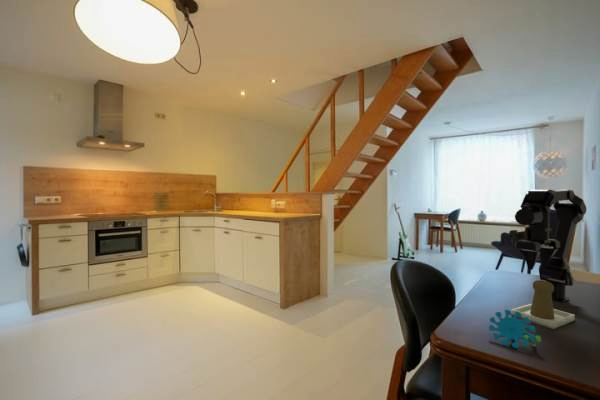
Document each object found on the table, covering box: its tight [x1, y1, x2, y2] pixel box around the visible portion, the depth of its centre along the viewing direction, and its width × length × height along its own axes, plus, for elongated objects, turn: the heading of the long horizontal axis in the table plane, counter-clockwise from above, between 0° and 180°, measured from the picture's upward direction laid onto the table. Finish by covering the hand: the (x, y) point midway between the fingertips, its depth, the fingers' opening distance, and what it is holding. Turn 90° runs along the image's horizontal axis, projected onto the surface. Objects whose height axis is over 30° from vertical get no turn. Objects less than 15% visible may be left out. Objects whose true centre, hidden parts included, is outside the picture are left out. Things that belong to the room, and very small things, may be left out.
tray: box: [510, 303, 576, 330], centre depth 93 cm, size 14×11×2 cm
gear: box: [488, 309, 542, 350], centre depth 77 cm, size 11×6×10 cm
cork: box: [530, 279, 555, 320], centre depth 93 cm, size 6×6×11 cm
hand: (536, 268), depth 104 cm, fingers open, 9 cm apart
